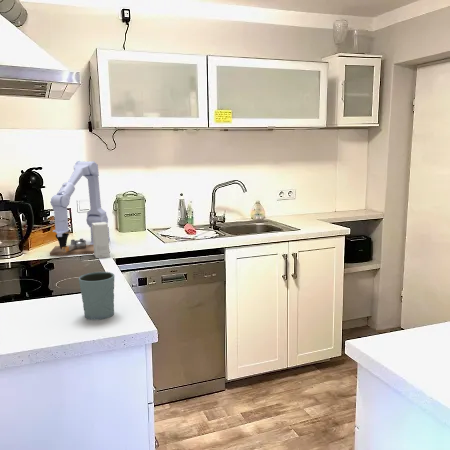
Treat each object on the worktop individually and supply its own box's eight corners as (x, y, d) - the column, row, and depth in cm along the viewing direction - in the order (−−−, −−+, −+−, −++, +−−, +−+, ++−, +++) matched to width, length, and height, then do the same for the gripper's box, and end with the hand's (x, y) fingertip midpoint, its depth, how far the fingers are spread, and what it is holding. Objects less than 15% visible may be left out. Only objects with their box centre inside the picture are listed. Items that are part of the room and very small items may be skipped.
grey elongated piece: (76, 245, 227) (75, 238, 226) (88, 246, 225) (88, 238, 224) (57, 252, 212) (57, 244, 211) (70, 253, 210) (70, 245, 209)
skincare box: (110, 257, 209) (108, 224, 207) (95, 258, 207) (93, 224, 204) (107, 253, 217) (106, 221, 214) (93, 254, 214) (91, 222, 212)
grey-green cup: (122, 314, 137) (121, 275, 135) (93, 323, 129) (90, 283, 128) (103, 306, 144) (101, 269, 142) (74, 315, 136) (72, 276, 134)
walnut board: (96, 247, 231) (96, 244, 231) (94, 253, 216) (94, 250, 216) (55, 249, 227) (55, 245, 227) (49, 255, 213) (49, 252, 212)
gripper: (55, 218, 218) (57, 246, 220) (49, 223, 204) (51, 253, 206) (70, 217, 219) (72, 245, 221) (65, 222, 205) (67, 252, 207)
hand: (63, 249), depth 214 cm, fingers closed, pressing on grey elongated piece
